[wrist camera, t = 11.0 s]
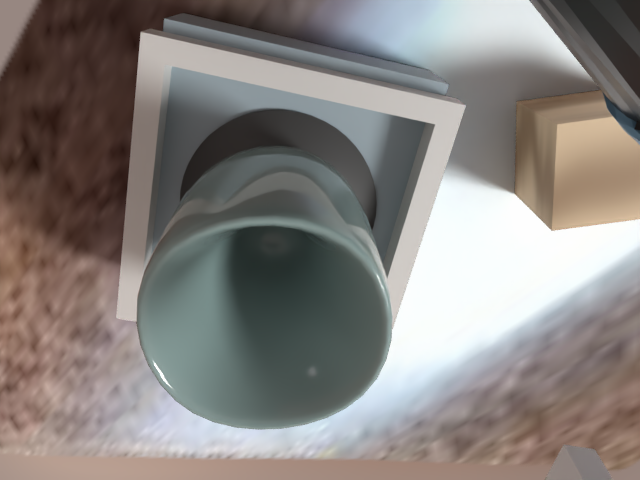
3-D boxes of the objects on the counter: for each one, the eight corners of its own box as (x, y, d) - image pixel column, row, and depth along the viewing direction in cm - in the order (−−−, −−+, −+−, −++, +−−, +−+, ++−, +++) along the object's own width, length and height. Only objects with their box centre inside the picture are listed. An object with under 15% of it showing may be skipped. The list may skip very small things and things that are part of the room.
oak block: (515, 101, 28) (557, 124, 24) (615, 87, 28) (675, 108, 24) (514, 193, 30) (551, 230, 26) (606, 180, 30) (660, 216, 26)
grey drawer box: (172, 10, 26) (142, 17, 21) (438, 72, 27) (470, 93, 22) (142, 290, 32) (113, 347, 27) (361, 327, 34) (372, 388, 29)
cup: (207, 290, 27) (163, 445, 18) (174, 133, 24) (101, 228, 15) (366, 273, 27) (400, 420, 18) (354, 114, 24) (391, 198, 15)
